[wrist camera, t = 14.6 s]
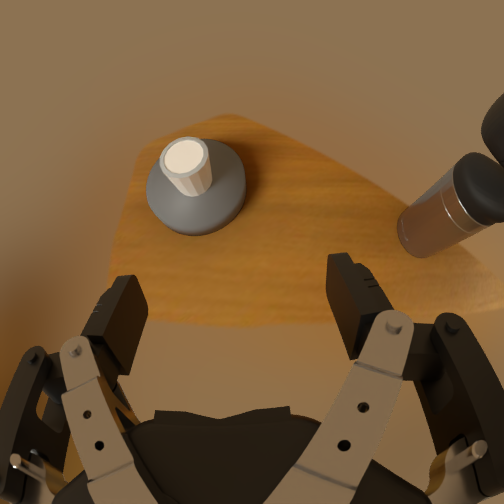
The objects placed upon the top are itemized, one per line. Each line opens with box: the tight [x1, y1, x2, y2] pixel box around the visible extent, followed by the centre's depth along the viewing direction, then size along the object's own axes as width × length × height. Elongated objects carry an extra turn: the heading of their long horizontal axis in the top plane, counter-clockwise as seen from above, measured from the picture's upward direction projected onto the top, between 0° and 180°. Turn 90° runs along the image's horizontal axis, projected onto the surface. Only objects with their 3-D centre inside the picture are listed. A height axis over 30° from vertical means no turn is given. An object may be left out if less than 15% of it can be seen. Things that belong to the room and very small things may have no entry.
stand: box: [146, 139, 246, 236], centre depth 43 cm, size 16×16×4 cm
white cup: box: [160, 137, 212, 197], centre depth 38 cm, size 7×7×7 cm
